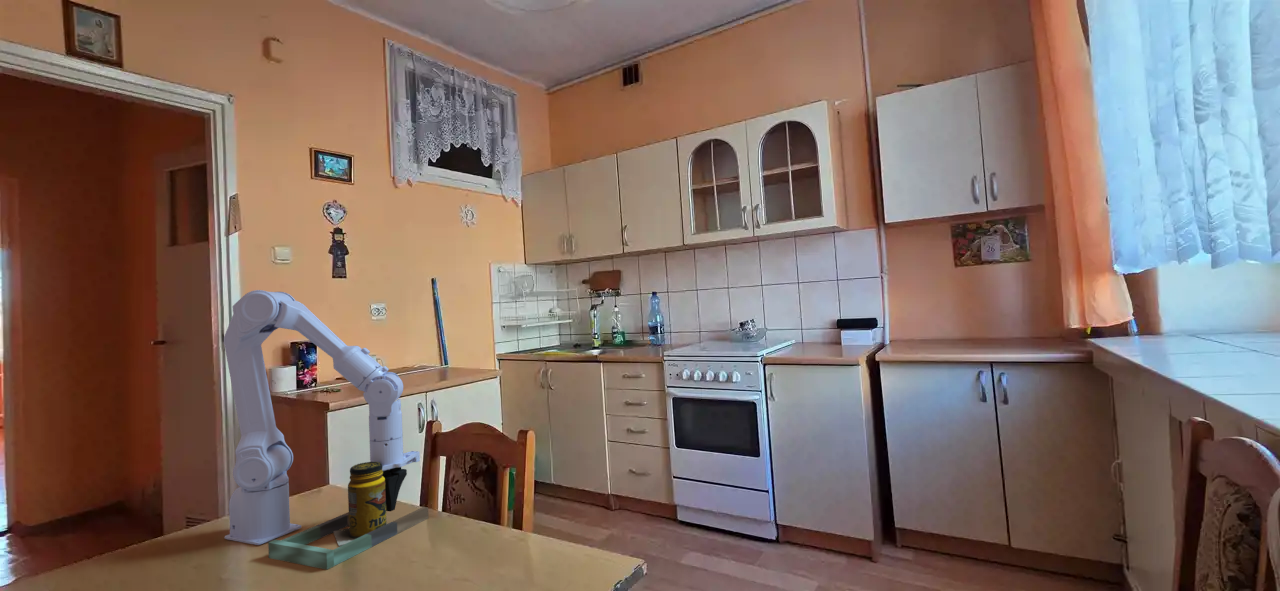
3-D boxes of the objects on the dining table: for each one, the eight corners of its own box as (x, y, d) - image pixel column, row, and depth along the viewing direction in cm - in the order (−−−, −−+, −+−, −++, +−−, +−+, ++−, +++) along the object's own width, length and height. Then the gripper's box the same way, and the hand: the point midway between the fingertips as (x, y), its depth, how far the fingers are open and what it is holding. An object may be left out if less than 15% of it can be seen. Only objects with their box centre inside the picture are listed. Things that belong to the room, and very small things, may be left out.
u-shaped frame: (268, 557, 90) (268, 542, 90) (376, 510, 110) (375, 498, 110) (327, 569, 85) (326, 553, 85) (428, 518, 105) (428, 504, 105)
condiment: (392, 533, 98) (390, 465, 98) (338, 546, 93) (336, 475, 93) (384, 521, 104) (382, 457, 104) (333, 533, 99) (331, 466, 99)
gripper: (370, 449, 96) (373, 527, 96) (430, 430, 110) (433, 498, 110) (341, 446, 99) (343, 522, 99) (403, 428, 112) (405, 495, 112)
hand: (388, 510), depth 104 cm, fingers closed
